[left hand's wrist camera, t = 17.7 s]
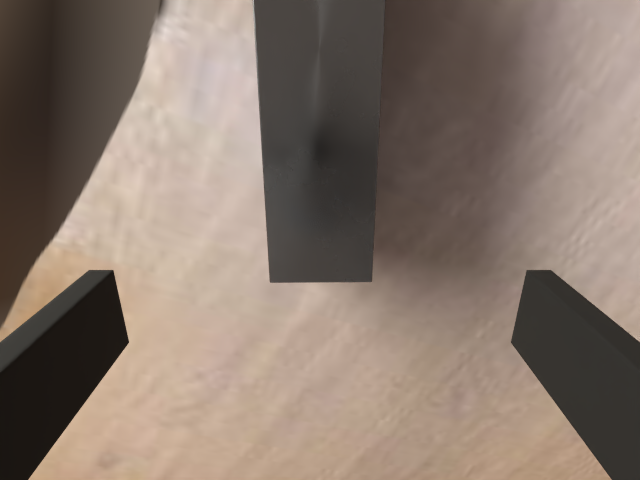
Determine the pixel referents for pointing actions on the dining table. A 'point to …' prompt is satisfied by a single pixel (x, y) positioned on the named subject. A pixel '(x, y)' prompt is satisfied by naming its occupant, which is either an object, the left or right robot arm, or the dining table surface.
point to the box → (319, 134)
